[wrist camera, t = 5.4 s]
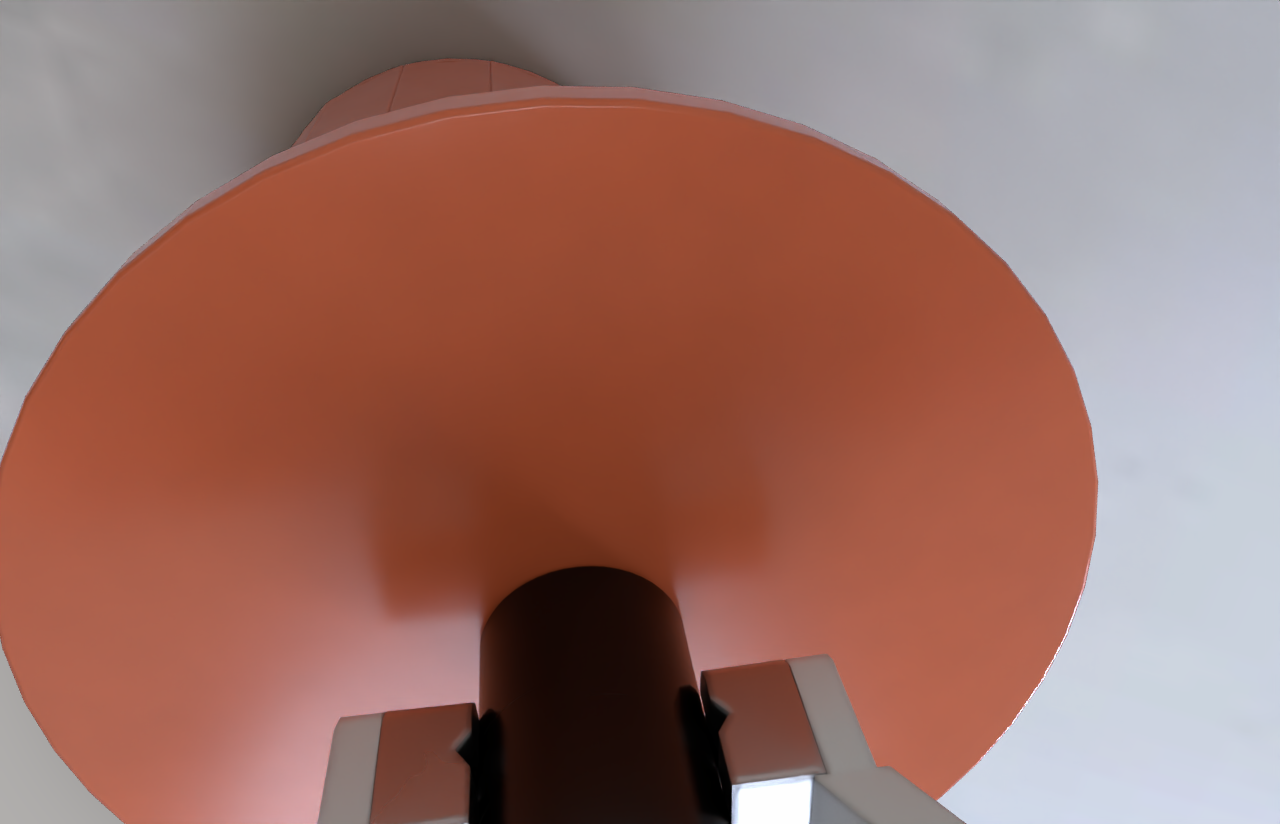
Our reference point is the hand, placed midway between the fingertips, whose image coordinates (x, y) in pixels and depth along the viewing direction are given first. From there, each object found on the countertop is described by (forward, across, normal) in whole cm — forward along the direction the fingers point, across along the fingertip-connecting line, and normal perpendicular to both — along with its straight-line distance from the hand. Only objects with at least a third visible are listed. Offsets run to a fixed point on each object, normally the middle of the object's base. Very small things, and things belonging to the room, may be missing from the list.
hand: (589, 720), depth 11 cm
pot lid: (+2, 0, 0) cm, 2 cm away
